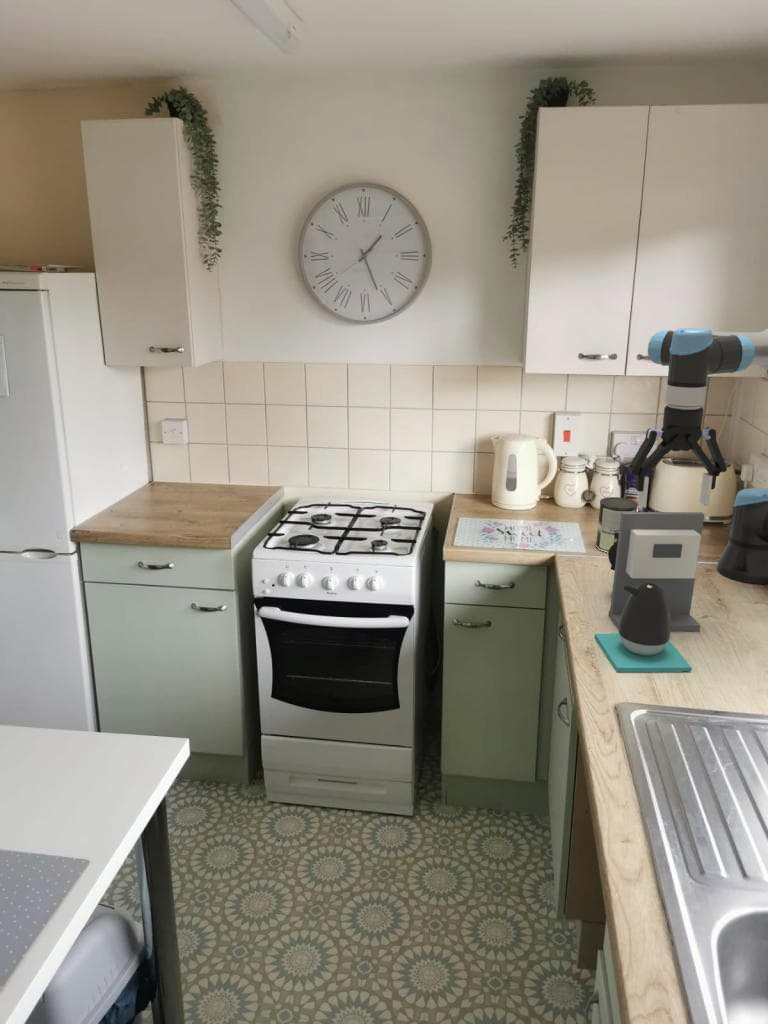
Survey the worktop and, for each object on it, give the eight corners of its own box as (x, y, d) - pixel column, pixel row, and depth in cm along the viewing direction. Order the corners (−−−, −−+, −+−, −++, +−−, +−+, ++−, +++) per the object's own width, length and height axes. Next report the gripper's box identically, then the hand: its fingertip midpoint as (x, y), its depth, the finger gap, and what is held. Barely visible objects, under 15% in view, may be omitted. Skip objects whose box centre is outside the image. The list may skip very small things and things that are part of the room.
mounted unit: (684, 616, 177) (700, 511, 170) (699, 631, 170) (716, 522, 162) (608, 616, 177) (620, 511, 169) (619, 631, 169) (632, 522, 161)
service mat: (662, 637, 166) (663, 633, 166) (691, 672, 152) (691, 667, 152) (594, 637, 166) (595, 633, 166) (616, 672, 152) (617, 667, 151)
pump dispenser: (609, 637, 164) (617, 572, 159) (658, 639, 163) (667, 573, 159) (622, 660, 154) (630, 591, 150) (674, 662, 154) (684, 592, 149)
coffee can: (588, 544, 224) (593, 498, 219) (618, 541, 227) (623, 495, 223) (608, 556, 214) (614, 508, 210) (639, 553, 218) (645, 505, 213)
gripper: (734, 401, 160) (721, 497, 167) (617, 403, 159) (609, 500, 166) (752, 407, 153) (738, 508, 160) (630, 410, 152) (621, 511, 159)
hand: (673, 504), depth 163 cm, fingers open, 13 cm apart
